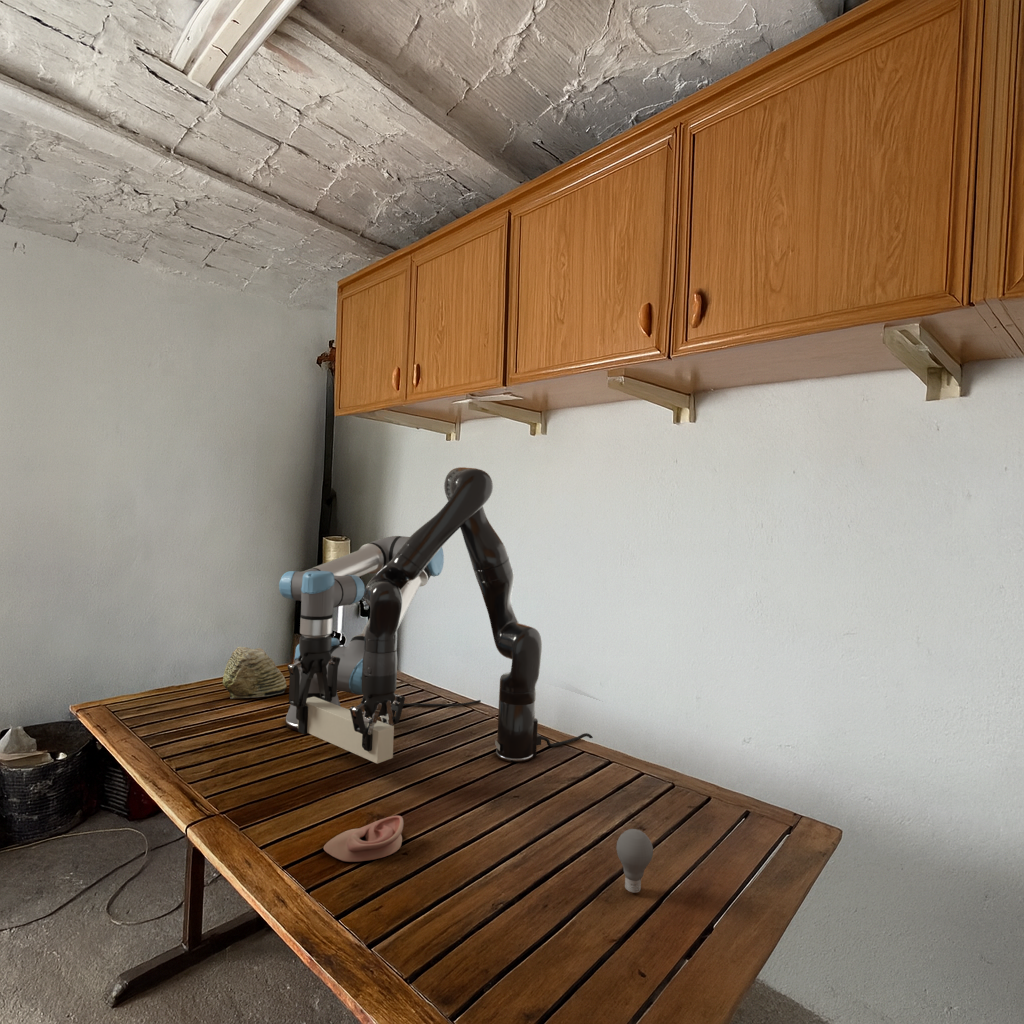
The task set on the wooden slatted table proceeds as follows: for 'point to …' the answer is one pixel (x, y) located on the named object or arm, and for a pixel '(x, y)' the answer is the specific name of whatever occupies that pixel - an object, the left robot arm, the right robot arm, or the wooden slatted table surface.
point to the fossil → (252, 674)
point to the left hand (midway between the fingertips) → (311, 729)
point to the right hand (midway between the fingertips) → (376, 746)
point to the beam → (347, 730)
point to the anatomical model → (367, 841)
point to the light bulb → (634, 857)
